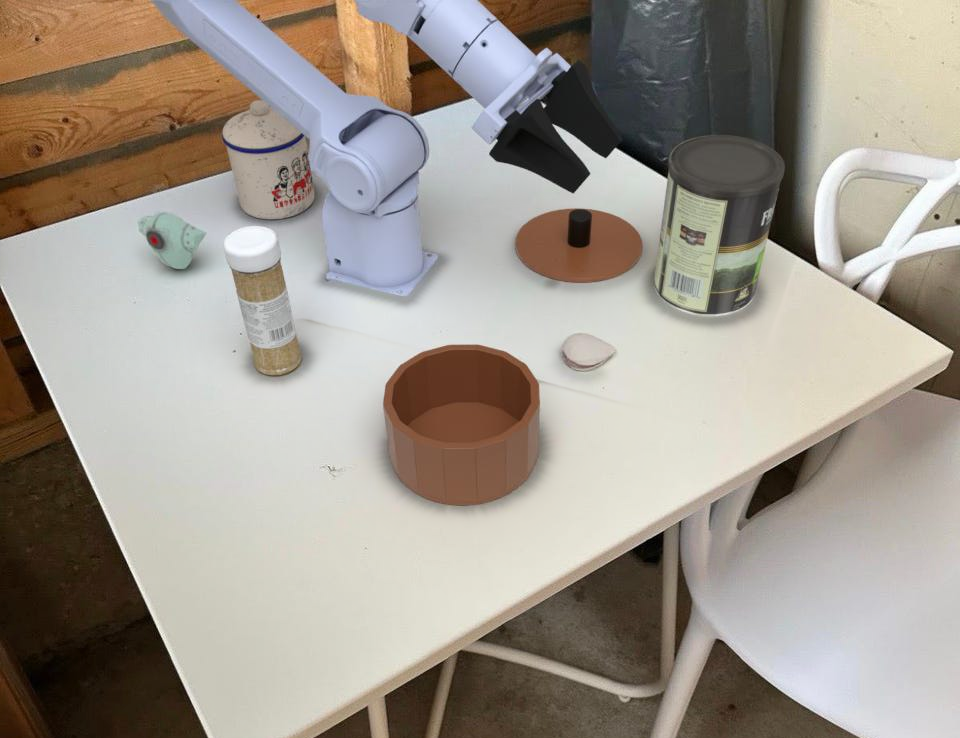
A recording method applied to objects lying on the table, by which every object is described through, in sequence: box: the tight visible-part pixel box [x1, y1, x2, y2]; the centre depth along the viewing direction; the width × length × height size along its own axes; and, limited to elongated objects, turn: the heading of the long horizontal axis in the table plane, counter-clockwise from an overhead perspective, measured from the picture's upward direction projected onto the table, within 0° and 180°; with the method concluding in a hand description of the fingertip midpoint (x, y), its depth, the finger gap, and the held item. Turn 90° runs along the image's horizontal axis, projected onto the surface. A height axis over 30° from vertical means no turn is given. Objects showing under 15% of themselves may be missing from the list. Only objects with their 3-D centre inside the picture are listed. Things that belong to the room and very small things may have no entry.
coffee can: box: [653, 134, 786, 317], centre depth 89 cm, size 10×10×14 cm
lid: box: [515, 207, 643, 284], centre depth 97 cm, size 13×13×4 cm
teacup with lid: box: [221, 99, 316, 220], centre depth 104 cm, size 12×9×12 cm
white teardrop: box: [562, 332, 617, 372], centre depth 85 cm, size 4×5×2 cm
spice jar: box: [222, 225, 303, 376], centre depth 82 cm, size 5×5×13 cm
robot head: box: [137, 211, 207, 270], centre depth 96 cm, size 8×4×7 cm, turn 65°
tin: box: [382, 343, 541, 506], centre depth 76 cm, size 12×12×6 cm
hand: (598, 166), depth 76 cm, fingers open, 7 cm apart
